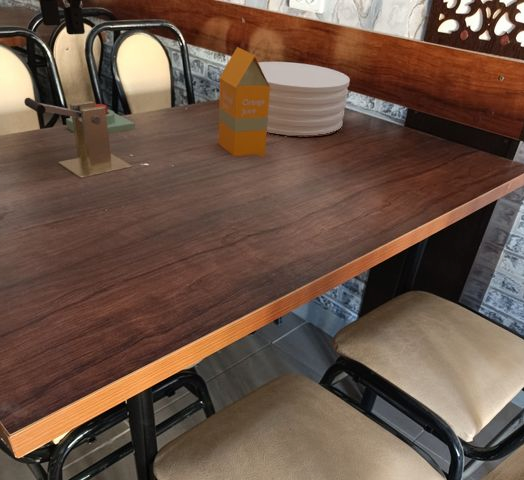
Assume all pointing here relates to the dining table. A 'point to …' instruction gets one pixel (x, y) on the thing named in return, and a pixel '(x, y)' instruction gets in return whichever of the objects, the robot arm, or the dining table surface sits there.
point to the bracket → (92, 143)
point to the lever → (52, 109)
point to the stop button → (102, 106)
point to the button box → (110, 123)
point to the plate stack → (304, 98)
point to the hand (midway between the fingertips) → (63, 29)
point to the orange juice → (243, 106)
